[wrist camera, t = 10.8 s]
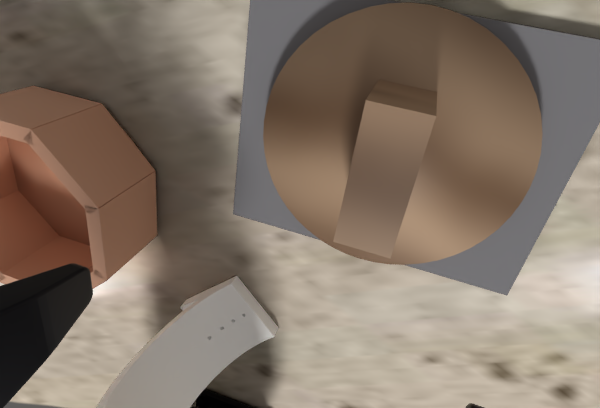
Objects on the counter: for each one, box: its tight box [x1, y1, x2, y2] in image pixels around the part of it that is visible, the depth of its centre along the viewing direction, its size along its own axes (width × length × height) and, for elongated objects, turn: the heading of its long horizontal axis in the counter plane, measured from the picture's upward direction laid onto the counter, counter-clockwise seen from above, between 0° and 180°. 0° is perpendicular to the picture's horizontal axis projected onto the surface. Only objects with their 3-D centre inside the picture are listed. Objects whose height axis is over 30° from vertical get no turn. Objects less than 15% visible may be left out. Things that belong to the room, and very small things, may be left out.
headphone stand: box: [96, 276, 279, 408], centre depth 23 cm, size 5×6×12 cm
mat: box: [233, 0, 600, 295], centre depth 19 cm, size 15×12×1 cm
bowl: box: [0, 86, 157, 289], centre depth 24 cm, size 11×11×5 cm
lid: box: [263, 2, 543, 265], centre depth 17 cm, size 12×12×4 cm
